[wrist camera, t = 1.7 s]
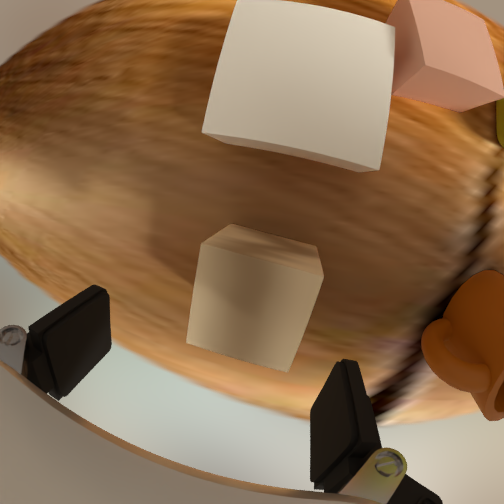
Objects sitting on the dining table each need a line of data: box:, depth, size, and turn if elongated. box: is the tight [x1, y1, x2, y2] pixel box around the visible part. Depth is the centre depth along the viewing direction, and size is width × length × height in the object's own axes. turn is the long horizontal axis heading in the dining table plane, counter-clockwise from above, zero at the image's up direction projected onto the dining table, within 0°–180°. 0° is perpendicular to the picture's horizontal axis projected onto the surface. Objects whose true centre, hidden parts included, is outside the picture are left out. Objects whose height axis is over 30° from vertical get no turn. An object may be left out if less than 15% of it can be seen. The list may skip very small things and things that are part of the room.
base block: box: [202, 0, 395, 173], centre depth 13 cm, size 9×9×5 cm
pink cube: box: [385, 0, 504, 113], centre depth 10 cm, size 6×6×6 cm
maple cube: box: [186, 224, 324, 372], centre depth 16 cm, size 6×6×6 cm
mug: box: [421, 270, 504, 421], centre depth 13 cm, size 9×12×9 cm
